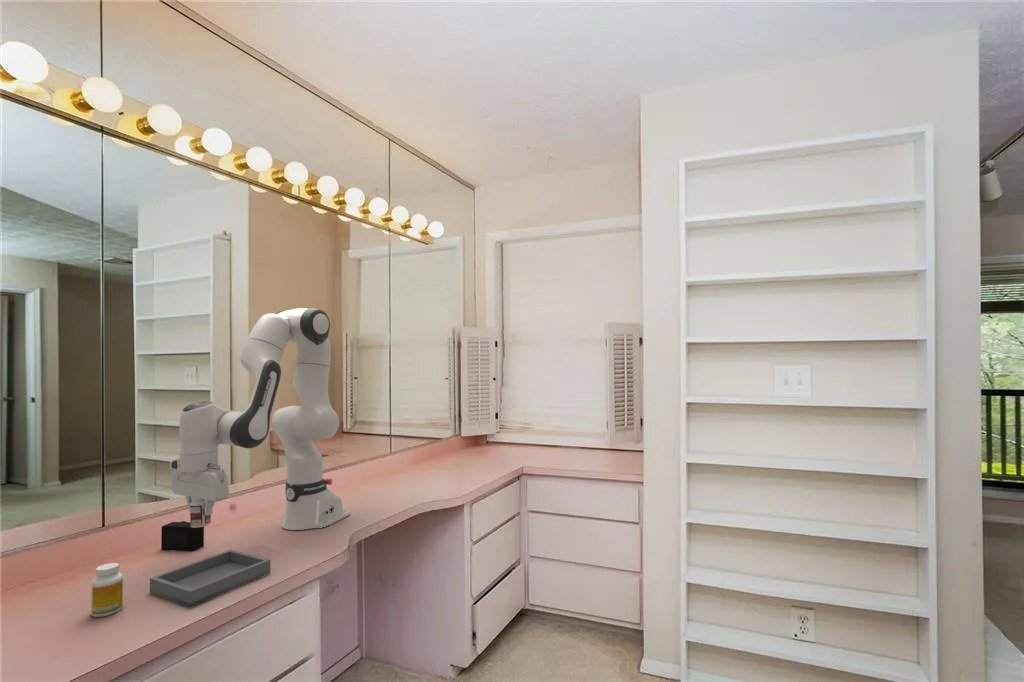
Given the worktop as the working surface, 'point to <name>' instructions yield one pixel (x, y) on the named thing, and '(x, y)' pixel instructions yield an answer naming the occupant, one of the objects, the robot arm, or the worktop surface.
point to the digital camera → (181, 537)
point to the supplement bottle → (107, 590)
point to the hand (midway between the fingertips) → (200, 513)
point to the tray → (208, 577)
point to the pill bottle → (198, 513)
